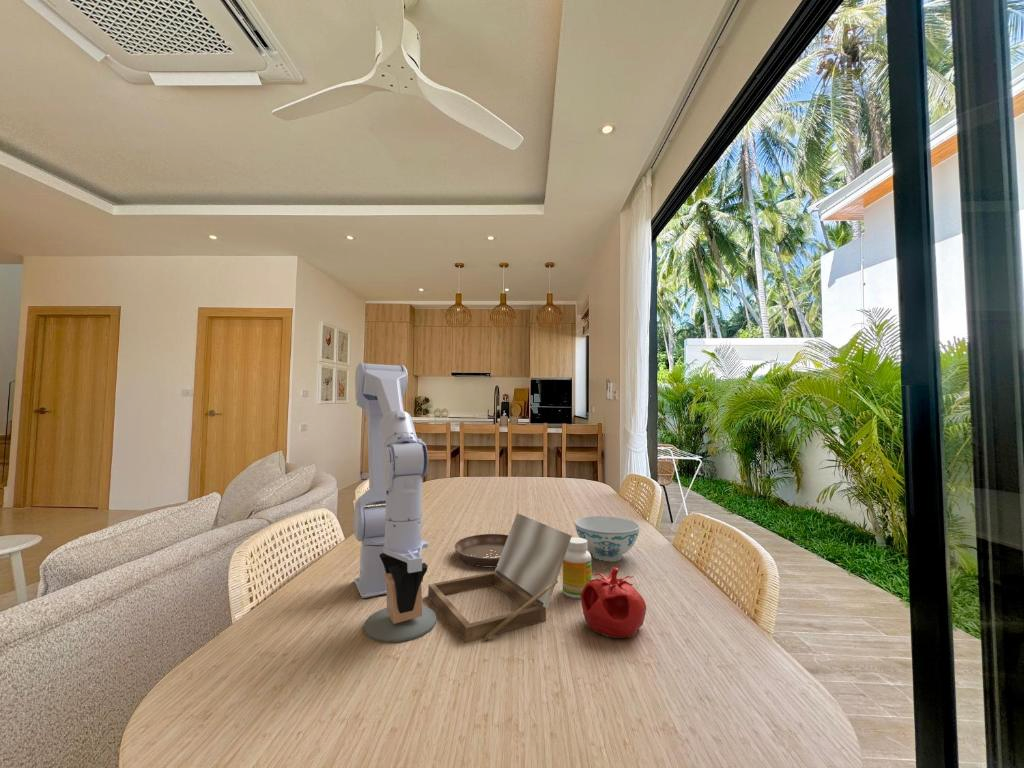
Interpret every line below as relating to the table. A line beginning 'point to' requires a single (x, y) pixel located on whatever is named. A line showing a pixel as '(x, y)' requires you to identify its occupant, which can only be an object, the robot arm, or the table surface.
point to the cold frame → (512, 579)
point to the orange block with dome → (392, 602)
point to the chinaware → (607, 535)
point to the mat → (399, 626)
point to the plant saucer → (481, 548)
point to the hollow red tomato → (613, 606)
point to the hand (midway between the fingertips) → (401, 604)
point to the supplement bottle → (576, 567)
